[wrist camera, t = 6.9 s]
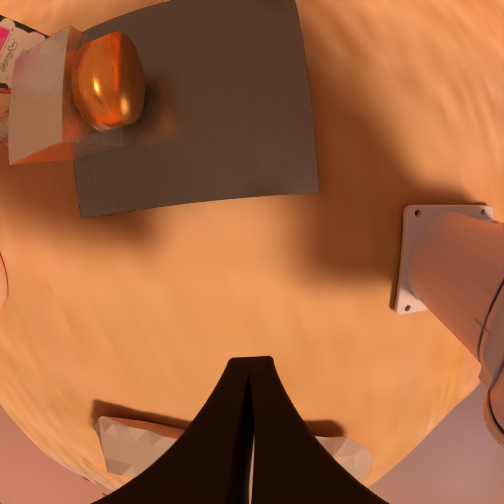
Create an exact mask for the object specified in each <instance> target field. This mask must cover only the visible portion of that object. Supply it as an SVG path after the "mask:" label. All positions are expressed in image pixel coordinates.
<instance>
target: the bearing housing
mask: <svg viewBox="0 0 504 504" xmlns="http://www.w3.org/2000/svg"><path fill="white" fill-rule="evenodd" d="M113 32H122V33H124V34H126V35H127V36H128V37H129V38H130V39H131V41H132V42H133V44H134V45H135V47H136V49H137V52H138V54H139V57H140V60H141V64H142V69H143V74H144V84H145V97H144V105H143V109H142V112H141V115H140V117H139V118H138V120H137V121H136V122H134V123H132V124H128V125H124V126H121V127H117V128H114V129H110V130H107V131H98V130H96V129H94V128H92V127H91V126H90V125H89V124H88V123H87V122H86V121H85V120H84V118H83V117H82V115H81V114H80V112H78V111H75V99H74V96H73V91H72V82H71V75H72V66H73V62H74V59H75V56H76V54H77V53H78V51H79V50H80V48H81V47H82V46H84V45H85V44H87V43H89V42H91V41H93V40H96V39H98V38H101V37H103V36H106V35H108V34H111V33H113ZM8 148H9V165H15V164H24V163H35V162H48V161H64V160H74V168H75V178H76V187H77V194H78V201H79V208H80V214H81V219H85V218H91V217H96V216H102V215H108V214H115V213H121V212H127V211H134V210H141V209H148V208H155V207H163V206H171V205H179V204H187V203H196V202H205V201H214V200H225V199H235V198H247V197H259V196H272V195H287V194H304V193H319V190H318V172H317V157H316V144H315V133H314V122H313V113H312V104H311V95H310V87H309V79H308V72H307V65H306V58H305V52H304V46H303V40H302V34H301V28H300V23H299V17H298V12H297V7H296V3H295V0H172V1H167V2H164V3H160V4H156V5H152V6H149V7H146V8H142V9H139V10H136V11H133V12H130V13H127V14H124V15H122V16H119V17H116V18H114V19H111V20H109V21H106V22H104V23H101V24H99V25H97V26H94V27H92V28H90V29H88V30H85V31H83V32H80V31H79V30H77V29H75V28H74V27H72V26H68V27H66V28H64V29H62V30H61V31H59V32H57V33H55V34H54V35H52V36H50V37H48V38H47V39H45V40H44V41H42V42H40V43H39V44H37V45H36V46H34V47H33V48H31V49H30V50H28V51H27V52H25V53H24V54H22V55H21V56H20V57H18V58H17V59H16V60H15V64H14V70H13V77H12V85H11V94H10V106H9V127H8Z"/></svg>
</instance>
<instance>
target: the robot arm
mask: <svg viewBox="0 0 504 504" xmlns="http://www.w3.org/2000/svg"><path fill="white" fill-rule="evenodd" d="M416 210H418V214H417V215H416V216H415V211H416ZM481 210H482V213H481ZM407 305H408V307H407V308H406V309H405V307H406V306H407ZM428 309H429V310H430V311H431V312H432V313H433V314H434V315H435V316H436V317H437V318H438V319H439V320H440V321H441V322H442V323H443V324H444V325H445V326H446V327H447V328H448V329H449V330H450V331H451V332H452V333H453V334H454V335H455V336H456V337H457V338H458V339H459V340H460V341H461V342H462V344H463V345H464V346H465V347H466V348H467V349H468V350H469V351H470V352H471V353H472V354H473V355H474V357H475V358H476V359H477V360H478V361H479V362H480V363H481V372H480V374H479V379H480V380H481V381H482V383H483V384H484V385H485V386H486V388H487V392H486V394H485V397H484V402H483V414H484V419H485V422H486V426H487V428H488V429H489V432H490V433H491V435H492V436H493V438H494V439H495V440H496V441H497V442H498V443H499V444H500V445H501V446H503V447H504V223H502V222H499V221H496V220H494V219H493V208H492V207H491V206H489V205H407V206H406V207H405V209H404V212H403V234H402V249H401V261H400V271H399V280H398V288H397V295H396V302H395V312H396V313H397V314H398V315H403V314H408V313H413V312H418V311H423V310H428ZM253 445H254V461H253V480H252V496H251V504H389V503H388V502H386V501H384V500H383V499H381V498H380V497H378V496H377V495H376V494H374V493H373V492H372V491H370V490H369V489H368V488H366V487H365V486H364V485H363V484H361V483H360V482H359V481H358V480H357V479H356V478H354V477H353V476H352V475H351V474H350V473H349V472H348V471H347V470H346V469H345V468H343V467H342V466H341V465H340V464H339V463H338V462H337V461H336V460H335V459H334V458H333V457H332V456H331V455H330V453H329V452H328V451H327V450H326V449H325V448H324V447H323V446H322V444H321V443H320V442H319V441H318V440H317V438H316V437H315V436H314V435H313V433H312V432H311V431H310V429H309V428H308V427H307V425H306V424H305V422H304V421H303V419H302V418H301V417H300V415H299V414H298V412H297V410H296V409H295V407H294V406H293V404H292V402H291V400H290V398H289V397H288V395H287V393H286V391H285V389H284V387H283V385H282V383H281V381H280V379H279V376H278V374H277V371H276V368H275V365H274V361H273V358H272V357H271V356H259V357H238V358H231V359H230V360H229V361H228V363H227V366H226V368H225V370H224V372H223V374H222V376H221V378H220V380H219V382H218V383H217V385H216V387H215V389H214V390H213V392H212V393H211V395H210V397H209V398H208V400H207V401H206V403H205V404H204V406H203V407H202V409H201V410H200V412H199V413H198V414H197V416H196V417H195V418H194V420H193V421H192V422H191V424H190V425H189V426H188V428H187V429H186V430H185V431H184V432H183V434H182V435H181V436H180V437H179V438H178V439H177V440H176V441H175V442H174V443H173V445H172V446H171V447H170V448H169V449H168V450H167V451H166V452H165V453H163V454H162V455H161V456H160V457H159V458H158V459H157V460H156V461H155V462H154V463H153V464H151V465H150V466H149V467H148V468H147V469H145V470H144V471H143V472H142V473H140V474H139V475H138V476H136V477H135V478H133V479H132V480H131V481H129V482H128V483H126V484H125V485H123V486H122V487H120V488H119V489H117V490H116V491H114V492H112V493H111V494H109V495H107V496H105V497H103V498H101V499H99V500H97V501H95V502H93V503H91V504H249V484H250V472H251V463H252V454H253ZM0 504H1V503H0Z"/></svg>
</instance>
